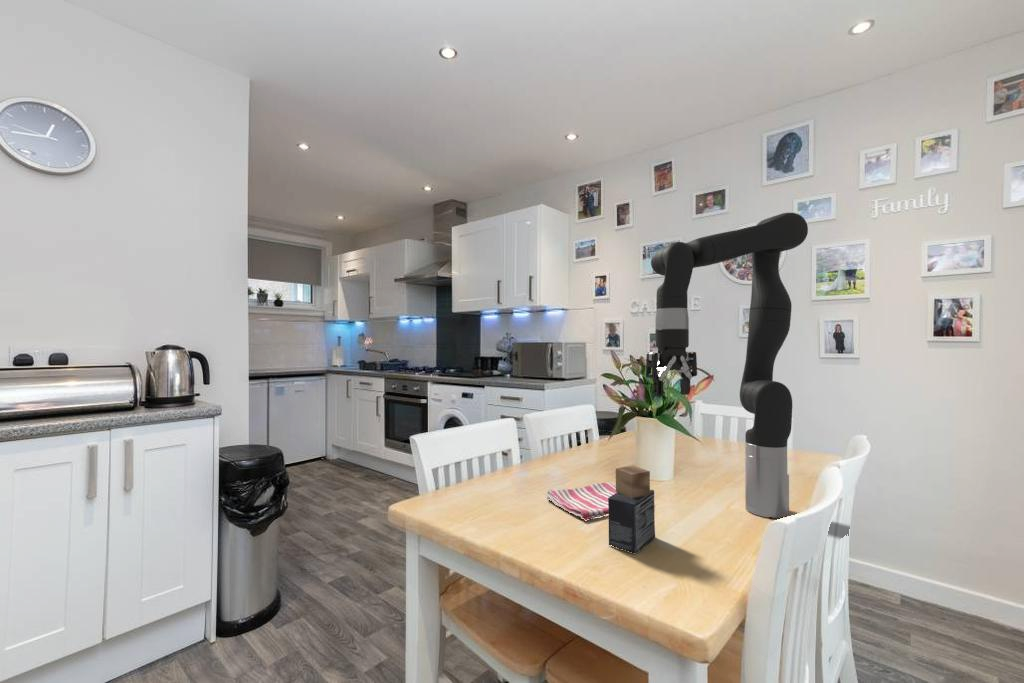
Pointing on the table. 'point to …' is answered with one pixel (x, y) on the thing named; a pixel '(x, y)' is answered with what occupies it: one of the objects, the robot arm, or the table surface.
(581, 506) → the dish towel
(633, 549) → the small box
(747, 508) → the robot arm
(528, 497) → the table surface
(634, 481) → the walnut block
